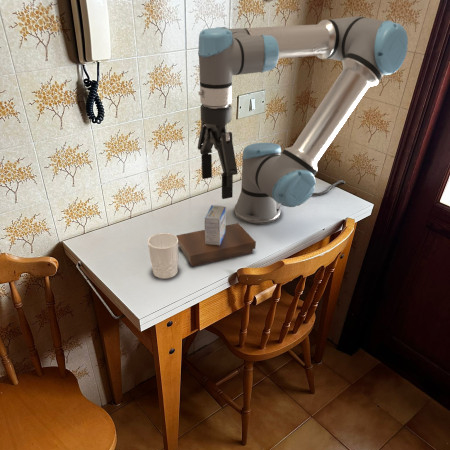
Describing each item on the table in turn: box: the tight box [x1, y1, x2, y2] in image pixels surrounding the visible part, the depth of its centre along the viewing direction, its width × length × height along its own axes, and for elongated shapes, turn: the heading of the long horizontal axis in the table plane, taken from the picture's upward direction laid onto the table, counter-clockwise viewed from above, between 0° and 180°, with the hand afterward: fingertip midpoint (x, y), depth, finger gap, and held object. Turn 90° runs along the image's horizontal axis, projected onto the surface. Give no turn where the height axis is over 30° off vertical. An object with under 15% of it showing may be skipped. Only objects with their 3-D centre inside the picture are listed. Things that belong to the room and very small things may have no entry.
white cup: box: [147, 232, 179, 280], centre depth 119 cm, size 8×8×10 cm
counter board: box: [175, 222, 257, 267], centre depth 130 cm, size 20×12×4 cm, turn 114°
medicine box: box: [204, 204, 227, 246], centre depth 126 cm, size 8×4×9 cm, turn 169°
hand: (216, 187), depth 119 cm, fingers open, 13 cm apart
